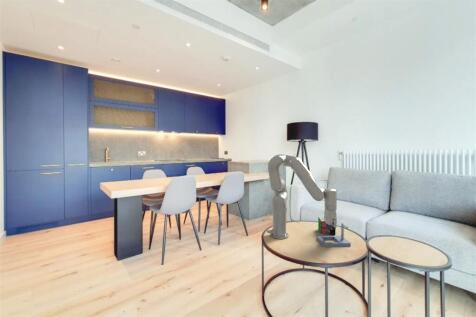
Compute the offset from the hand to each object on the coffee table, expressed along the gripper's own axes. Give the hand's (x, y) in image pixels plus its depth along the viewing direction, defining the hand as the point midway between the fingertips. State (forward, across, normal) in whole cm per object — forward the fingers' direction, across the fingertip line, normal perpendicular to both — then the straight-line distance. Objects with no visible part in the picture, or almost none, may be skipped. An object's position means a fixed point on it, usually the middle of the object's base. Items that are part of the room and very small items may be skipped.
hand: (330, 232), depth 150 cm
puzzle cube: (+7, -18, +5) cm, 20 cm away
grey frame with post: (+7, 0, +2) cm, 7 cm away
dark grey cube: (+1, 0, 0) cm, 1 cm away
